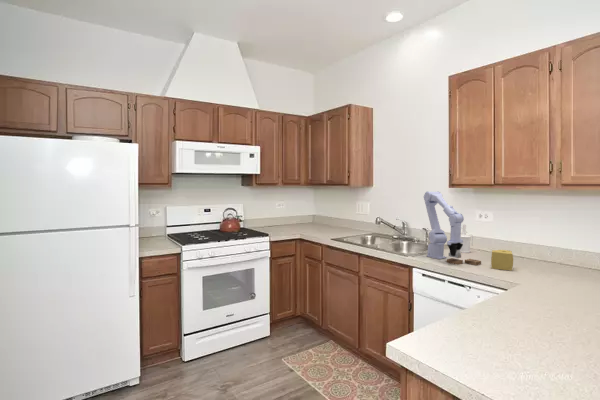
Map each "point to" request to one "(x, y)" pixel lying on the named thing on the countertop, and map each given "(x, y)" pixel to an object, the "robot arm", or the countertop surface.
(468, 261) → the stand
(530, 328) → the countertop surface
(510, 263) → the cheese
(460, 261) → the stand
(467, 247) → the white bottle
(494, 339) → the countertop surface
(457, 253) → the block
